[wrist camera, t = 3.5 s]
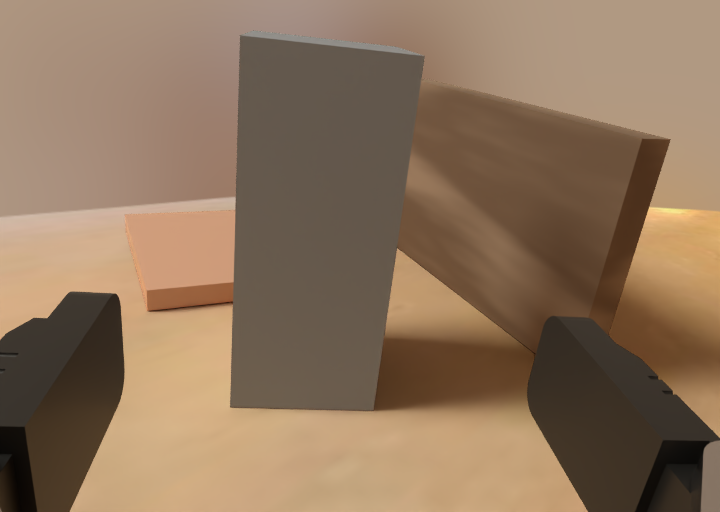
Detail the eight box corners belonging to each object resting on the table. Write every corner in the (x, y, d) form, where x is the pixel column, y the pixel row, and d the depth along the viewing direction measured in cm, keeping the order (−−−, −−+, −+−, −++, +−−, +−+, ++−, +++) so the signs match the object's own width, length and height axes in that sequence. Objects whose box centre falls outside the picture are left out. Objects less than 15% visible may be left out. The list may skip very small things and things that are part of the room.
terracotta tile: (288, 222, 37) (289, 207, 37) (353, 287, 29) (355, 270, 29) (125, 230, 33) (124, 214, 33) (147, 311, 25) (146, 290, 24)
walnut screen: (407, 238, 37) (430, 79, 33) (595, 374, 24) (670, 139, 20) (387, 239, 36) (409, 78, 33) (570, 380, 23) (642, 138, 20)
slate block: (243, 330, 24) (254, 30, 20) (359, 335, 25) (394, 46, 20) (230, 407, 19) (240, 35, 15) (373, 410, 20) (424, 56, 16)
